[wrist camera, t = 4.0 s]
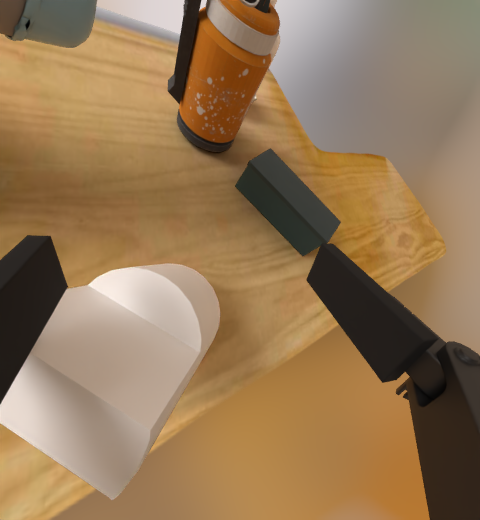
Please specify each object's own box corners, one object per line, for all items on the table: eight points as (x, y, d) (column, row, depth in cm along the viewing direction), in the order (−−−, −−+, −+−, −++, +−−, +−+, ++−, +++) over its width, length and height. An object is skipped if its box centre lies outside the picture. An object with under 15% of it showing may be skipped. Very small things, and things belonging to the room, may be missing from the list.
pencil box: (233, 186, 34) (249, 160, 29) (254, 172, 37) (270, 148, 33) (303, 257, 34) (327, 242, 30) (317, 237, 37) (341, 222, 33)
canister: (233, 161, 36) (324, -12, 19) (160, 140, 31) (199, -113, 14) (228, 123, 39) (302, -53, 22) (162, 99, 34) (195, -147, 18)
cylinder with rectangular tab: (238, 294, 19) (198, 361, 7) (191, 380, 20) (83, 570, 8) (151, 245, 20) (-15, 232, 8) (108, 330, 21) (-104, 435, 9)
